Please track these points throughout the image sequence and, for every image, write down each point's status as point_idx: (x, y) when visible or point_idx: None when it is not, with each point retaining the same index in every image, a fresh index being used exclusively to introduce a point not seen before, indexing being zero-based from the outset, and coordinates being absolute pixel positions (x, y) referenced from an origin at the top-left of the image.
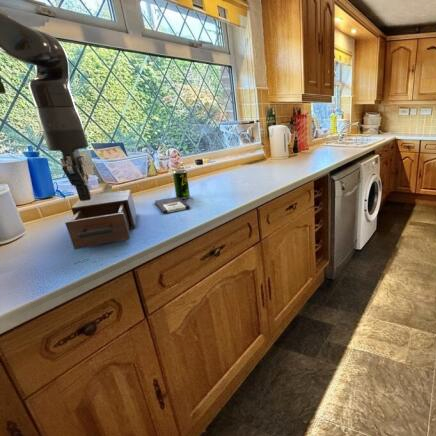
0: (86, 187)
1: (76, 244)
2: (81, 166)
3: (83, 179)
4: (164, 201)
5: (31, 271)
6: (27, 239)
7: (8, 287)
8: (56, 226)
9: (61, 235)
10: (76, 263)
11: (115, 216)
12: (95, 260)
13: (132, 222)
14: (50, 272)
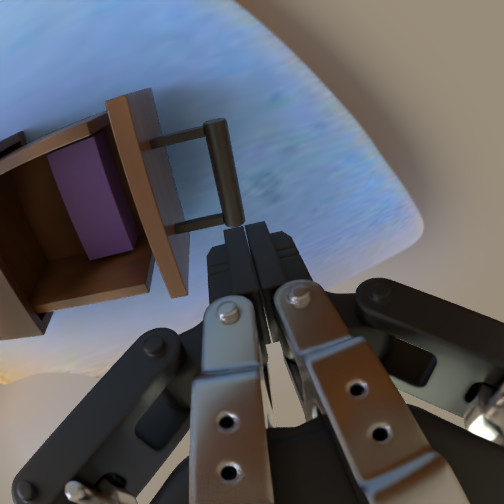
0: (286, 273)
1: (187, 236)
2: (418, 434)
3: (389, 307)
4: None
5: None
6: (77, 363)
7: (339, 279)
8: (11, 344)
9: (56, 316)
10: (277, 197)
11: (136, 127)
12: (279, 152)
13: (12, 139)
14: (306, 236)
